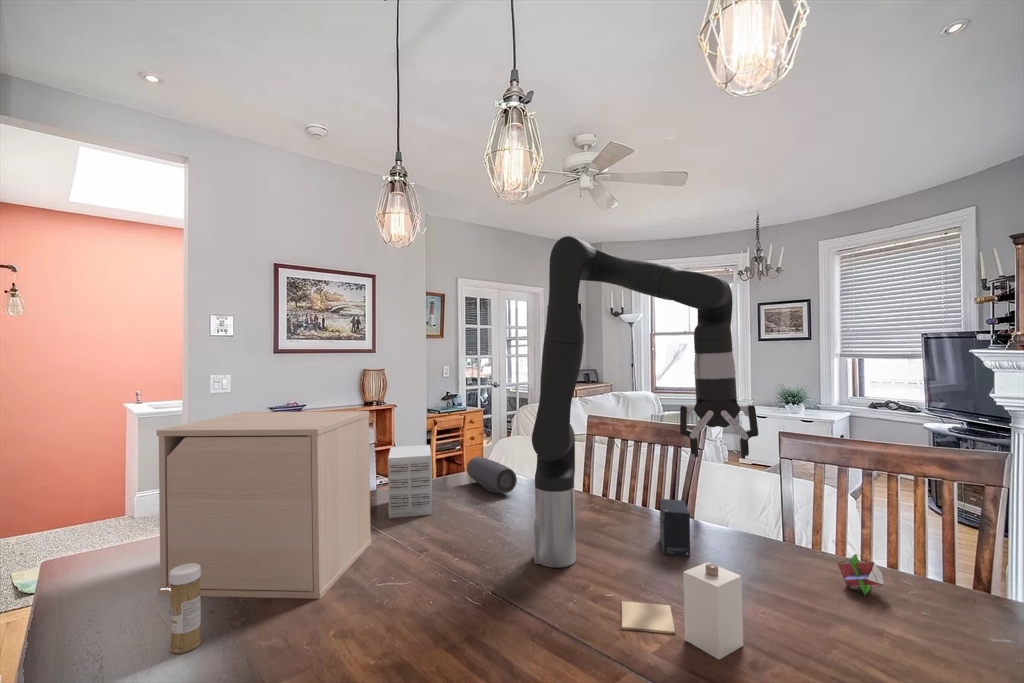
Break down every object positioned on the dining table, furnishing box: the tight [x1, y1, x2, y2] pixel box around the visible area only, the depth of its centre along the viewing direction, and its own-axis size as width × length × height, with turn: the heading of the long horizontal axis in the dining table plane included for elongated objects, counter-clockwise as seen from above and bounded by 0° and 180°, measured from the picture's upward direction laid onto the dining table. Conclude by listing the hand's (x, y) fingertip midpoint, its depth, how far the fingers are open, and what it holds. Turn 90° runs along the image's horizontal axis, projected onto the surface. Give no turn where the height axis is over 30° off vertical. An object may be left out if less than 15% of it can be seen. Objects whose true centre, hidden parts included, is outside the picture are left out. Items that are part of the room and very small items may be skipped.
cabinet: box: [156, 410, 372, 600], centre depth 117 cm, size 35×29×34 cm
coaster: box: [621, 600, 676, 635], centre depth 92 cm, size 9×9×1 cm
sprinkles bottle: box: [169, 563, 202, 654], centre depth 85 cm, size 5×5×14 cm
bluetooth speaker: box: [466, 456, 518, 494], centre depth 177 cm, size 23×9×10 cm, turn 30°
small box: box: [659, 498, 691, 557], centre depth 123 cm, size 11×6×10 cm, turn 168°
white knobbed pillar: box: [682, 562, 744, 661], centre depth 84 cm, size 6×6×13 cm
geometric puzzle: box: [837, 553, 885, 596], centre depth 100 cm, size 7×7×8 cm
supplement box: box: [387, 444, 433, 519], centre depth 158 cm, size 17×13×18 cm
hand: (719, 457), depth 99 cm, fingers open, 8 cm apart
